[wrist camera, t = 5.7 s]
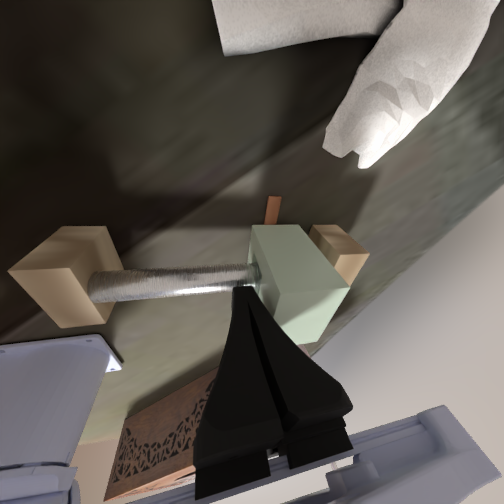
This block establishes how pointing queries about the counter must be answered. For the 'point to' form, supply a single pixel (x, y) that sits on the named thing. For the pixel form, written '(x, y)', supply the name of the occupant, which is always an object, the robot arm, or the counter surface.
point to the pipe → (170, 281)
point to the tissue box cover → (160, 442)
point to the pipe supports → (106, 258)
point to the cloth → (369, 56)
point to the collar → (295, 280)
